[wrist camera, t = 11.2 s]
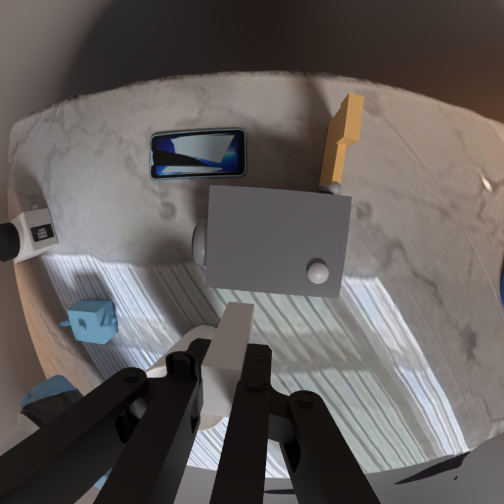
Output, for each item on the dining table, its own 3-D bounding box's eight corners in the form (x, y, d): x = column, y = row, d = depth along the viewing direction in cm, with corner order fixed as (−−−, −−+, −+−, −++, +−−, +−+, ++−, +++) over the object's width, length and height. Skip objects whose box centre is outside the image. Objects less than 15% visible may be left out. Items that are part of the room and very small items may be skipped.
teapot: (81, 324, 49) (60, 340, 42) (74, 297, 48) (51, 310, 40) (127, 329, 48) (108, 348, 40) (120, 299, 47) (98, 315, 39)
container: (48, 207, 44) (1, 214, 31) (59, 243, 46) (12, 259, 33) (29, 221, 45) (-16, 231, 33) (39, 255, 47) (-5, 271, 34)
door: (326, 122, 37) (349, 92, 24) (337, 125, 37) (364, 96, 24) (315, 191, 40) (334, 191, 26) (326, 193, 40) (350, 195, 26)
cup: (182, 301, 45) (142, 350, 30) (251, 325, 45) (238, 387, 30) (169, 355, 48) (134, 411, 32) (230, 378, 48) (213, 442, 32)
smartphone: (246, 176, 40) (149, 180, 41) (246, 177, 41) (152, 180, 42) (246, 127, 38) (150, 134, 39) (246, 129, 39) (152, 135, 40)
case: (205, 263, 44) (184, 286, 33) (208, 185, 41) (187, 184, 31) (325, 274, 42) (339, 299, 32) (334, 195, 40) (353, 196, 29)
